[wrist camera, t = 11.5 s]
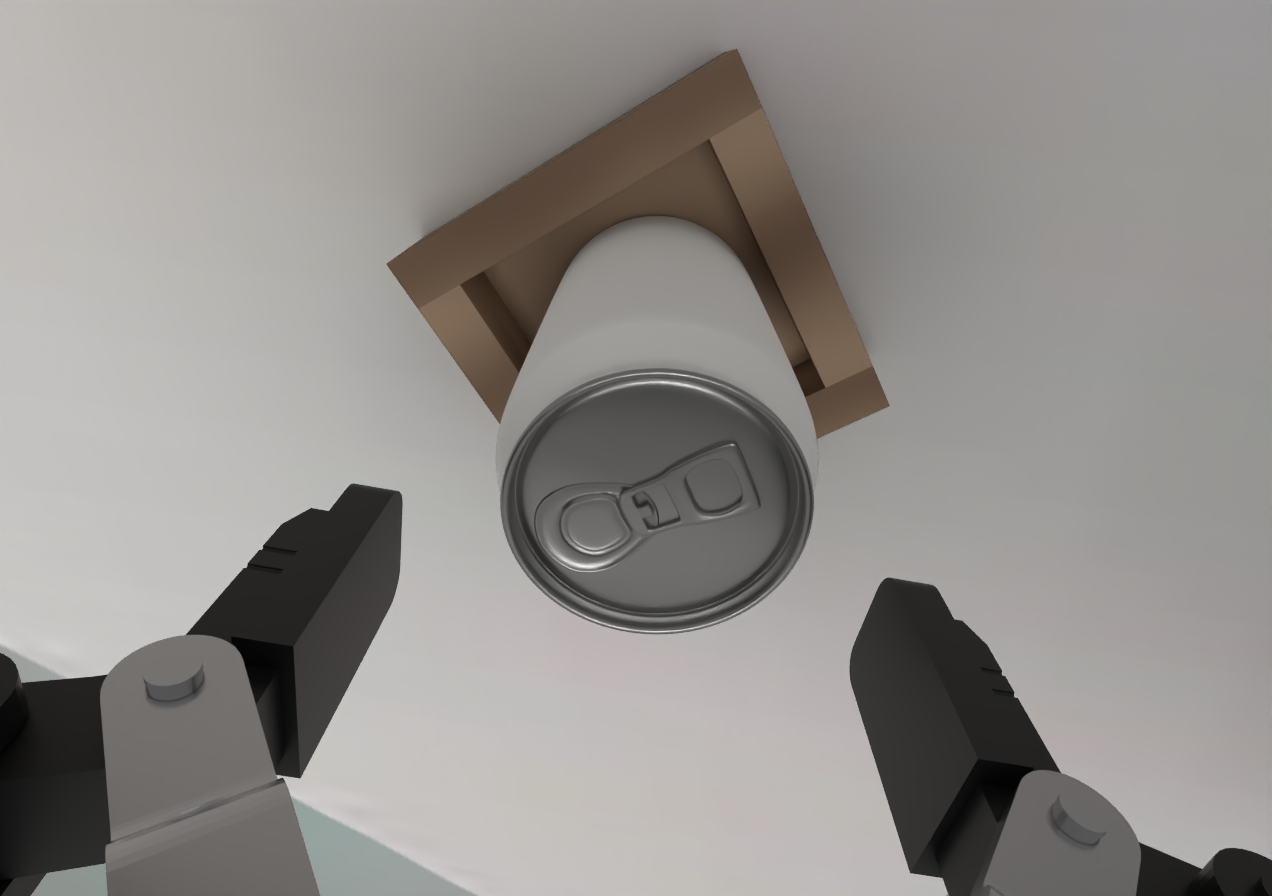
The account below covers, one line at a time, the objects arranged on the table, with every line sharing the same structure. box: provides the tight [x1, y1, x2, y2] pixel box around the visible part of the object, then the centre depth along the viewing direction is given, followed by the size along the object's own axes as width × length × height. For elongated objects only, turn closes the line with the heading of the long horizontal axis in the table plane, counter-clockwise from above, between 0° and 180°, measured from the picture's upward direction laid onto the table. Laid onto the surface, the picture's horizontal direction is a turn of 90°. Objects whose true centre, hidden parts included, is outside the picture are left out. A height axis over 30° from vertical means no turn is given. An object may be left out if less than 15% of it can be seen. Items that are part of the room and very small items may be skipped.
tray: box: [387, 49, 889, 438], centre depth 23 cm, size 11×11×4 cm
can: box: [496, 216, 818, 634], centre depth 18 cm, size 6×6×12 cm
